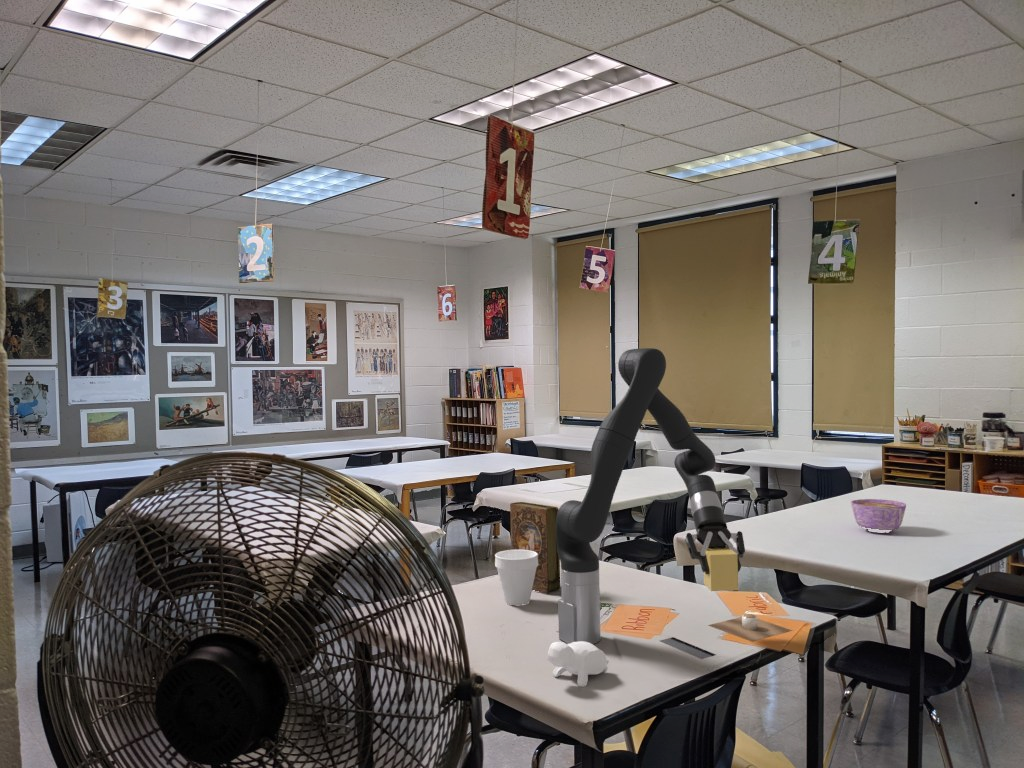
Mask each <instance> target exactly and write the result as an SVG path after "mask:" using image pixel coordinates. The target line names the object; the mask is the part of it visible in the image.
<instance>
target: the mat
mask: <svg viewBox="0 0 1024 768" xmlns="http://www.w3.org/2000/svg"><path fill="white" fill-rule="evenodd" d="M659 642H661V643H663V644H665V645H668V646H670V647H672V648H675V649H677V650H680V651H682V652H684V653H686V654H689V655H691V656H694V657H695V658H698V659H701V660H703V659H707V658H710V657H714V656H717V654H716V653H713V652H711V651H708V650H706V649H703V648H700V647H698V646H696V645H693V644H691V643H689V642H685V641H684V640H681V639H679V638H676V637H674V636H672V637H669V638H668V637H667V638H665V639H661V640H659Z"/></svg>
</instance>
